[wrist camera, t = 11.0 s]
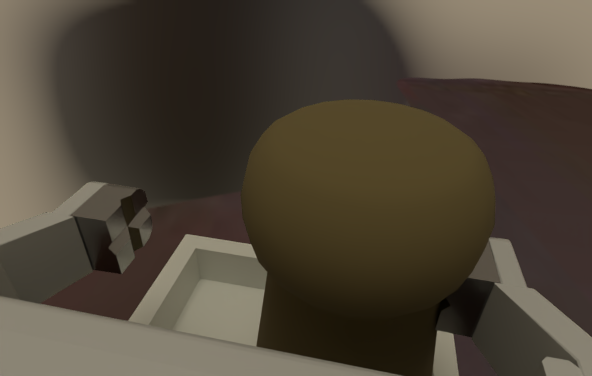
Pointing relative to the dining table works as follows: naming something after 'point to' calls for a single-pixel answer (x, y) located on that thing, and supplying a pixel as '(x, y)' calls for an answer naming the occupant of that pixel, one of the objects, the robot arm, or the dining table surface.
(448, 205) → the cork
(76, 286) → the dining table surface
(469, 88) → the dining table surface
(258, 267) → the tray
